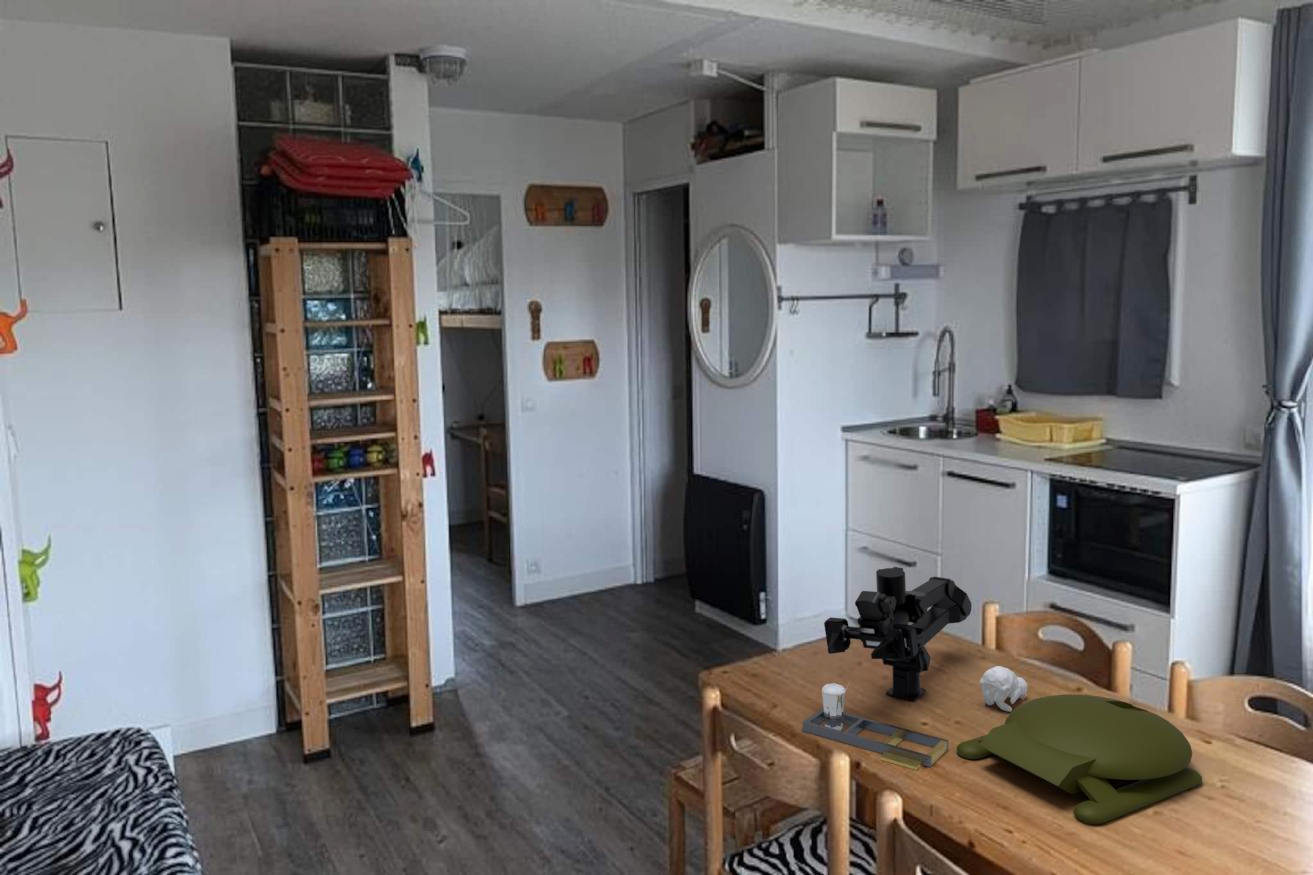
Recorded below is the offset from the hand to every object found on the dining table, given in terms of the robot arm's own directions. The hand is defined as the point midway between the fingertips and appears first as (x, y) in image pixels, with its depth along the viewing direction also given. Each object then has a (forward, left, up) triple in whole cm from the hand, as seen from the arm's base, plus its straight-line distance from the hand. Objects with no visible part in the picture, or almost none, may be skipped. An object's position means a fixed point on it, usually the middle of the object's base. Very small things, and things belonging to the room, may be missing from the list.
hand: (850, 653), depth 184 cm
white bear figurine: (-32, +19, -17) cm, 41 cm away
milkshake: (-1, -4, -17) cm, 17 cm away
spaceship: (-14, +39, -17) cm, 45 cm away
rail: (-1, +4, -17) cm, 17 cm away
